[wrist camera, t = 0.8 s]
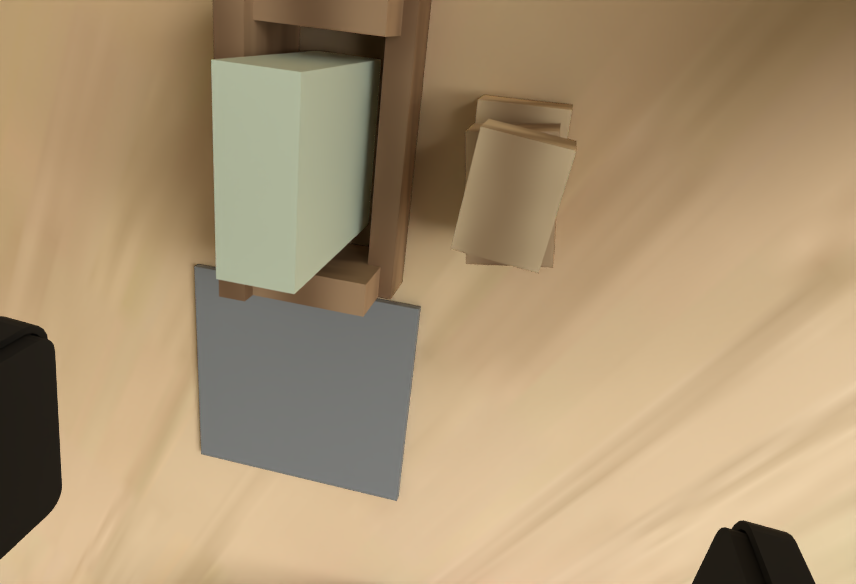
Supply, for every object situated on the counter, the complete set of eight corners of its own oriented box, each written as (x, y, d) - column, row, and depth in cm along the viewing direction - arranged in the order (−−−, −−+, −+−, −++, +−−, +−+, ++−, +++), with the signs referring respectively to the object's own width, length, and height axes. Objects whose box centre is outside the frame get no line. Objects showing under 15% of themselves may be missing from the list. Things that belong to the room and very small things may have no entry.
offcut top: (576, 141, 31) (576, 151, 28) (541, 254, 34) (538, 273, 31) (488, 118, 32) (480, 126, 29) (460, 231, 34) (450, 248, 31)
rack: (431, -2, 35) (400, -9, 29) (402, 282, 42) (371, 326, 36) (274, -20, 37) (212, -31, 30) (270, 257, 44) (218, 296, 37)
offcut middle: (560, 123, 34) (559, 131, 31) (554, 250, 36) (552, 267, 34) (473, 123, 35) (465, 131, 32) (473, 246, 37) (466, 263, 35)
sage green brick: (381, 59, 37) (301, 72, 26) (368, 224, 41) (294, 294, 30) (315, 50, 38) (211, 59, 27) (309, 213, 42) (216, 278, 31)
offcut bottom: (572, 104, 36) (572, 110, 34) (549, 238, 39) (547, 254, 37) (484, 94, 37) (477, 99, 34) (469, 227, 40) (461, 241, 37)
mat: (420, 306, 43) (418, 309, 42) (398, 496, 49) (396, 500, 48) (198, 263, 45) (194, 266, 44) (204, 450, 51) (201, 454, 51)
